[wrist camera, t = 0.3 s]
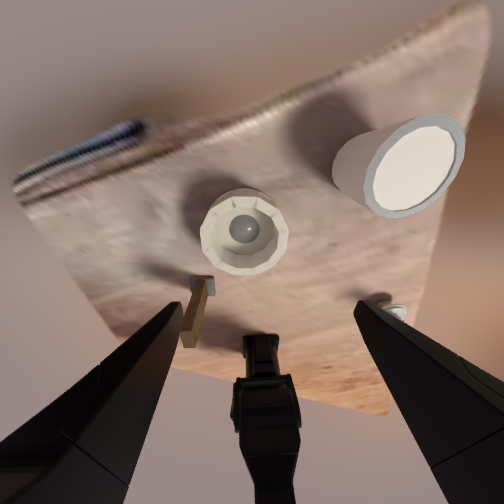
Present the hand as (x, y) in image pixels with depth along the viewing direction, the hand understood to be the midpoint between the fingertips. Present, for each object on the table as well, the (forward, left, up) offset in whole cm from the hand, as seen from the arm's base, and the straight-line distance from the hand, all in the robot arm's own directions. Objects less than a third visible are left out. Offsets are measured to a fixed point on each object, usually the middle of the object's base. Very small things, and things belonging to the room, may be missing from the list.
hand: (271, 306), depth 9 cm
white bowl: (-1, +1, -14) cm, 14 cm away
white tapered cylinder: (+6, -11, -14) cm, 19 cm away
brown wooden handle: (-10, +7, -14) cm, 19 cm away
